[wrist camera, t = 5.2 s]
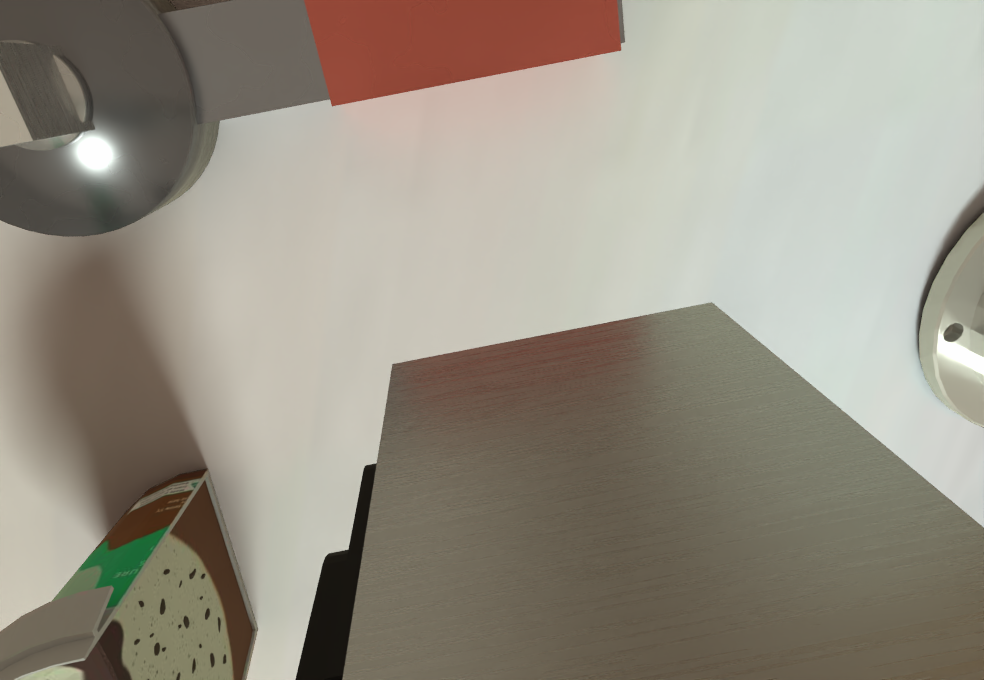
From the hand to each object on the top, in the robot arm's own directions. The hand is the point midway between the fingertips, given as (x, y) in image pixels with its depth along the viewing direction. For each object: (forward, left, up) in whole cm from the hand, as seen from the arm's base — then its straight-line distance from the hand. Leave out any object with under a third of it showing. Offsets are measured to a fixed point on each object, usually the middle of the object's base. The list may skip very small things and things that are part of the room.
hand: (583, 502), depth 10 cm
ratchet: (+5, -8, -15) cm, 18 cm away
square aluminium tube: (0, 0, -1) cm, 1 cm away
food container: (+17, +11, -15) cm, 25 cm away
